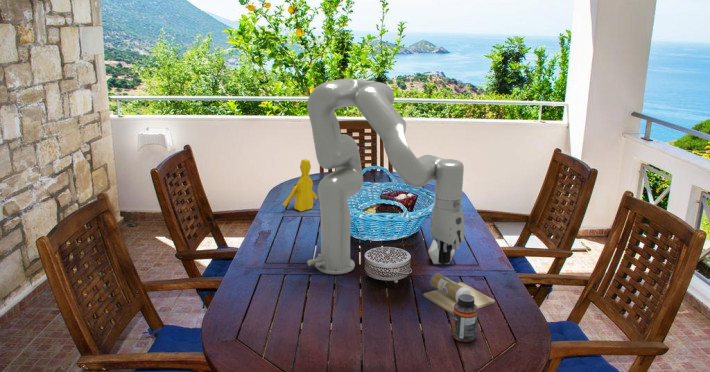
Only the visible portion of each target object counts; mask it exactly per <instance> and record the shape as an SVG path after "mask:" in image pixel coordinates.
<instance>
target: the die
mask: <svg viewBox="0 0 710 372" xmlns="http://www.w3.org/2000/svg"><path fill="white" fill-rule="evenodd" d="M427 253H428V255H429V257H430V259H431V261H432V263H433V265H442V264H441V263H439V262H438V259H439V249H438V246H437V242H436V241H435V240H434V239H433V240H432V242H431V244H430V246H429V248H428V251H427ZM455 253H456V251H455V249H453V250H452V251H451V257H450V262H449V263H446V264H445V265H450V264H451V261H452V259H453V257H454V255H455Z"/></svg>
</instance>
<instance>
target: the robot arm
mask: <svg viewBox="0 0 710 372" xmlns="http://www.w3.org/2000/svg"><path fill="white" fill-rule="evenodd" d="M394 101H395V94H394V91H393V89H392V88H391V86H389V85H388V84H386V83H384V82H379V81H371V80H364V79H356V78H340V79H335V80H330V81H326V82H323V83H320V84H319V85H318V86H316V87H315V88H314V89H313V90H311V93H310V95H309V97H308V99H307V112H308V117H309V121H310V125H311V131H312V139H313V143H314V149H315V154H316V160H317V163H318V165H319V166H320V167H321V168H322V169H324V170H332V169H335V171H332V172H331V173H329V174H326V175H325V176H324V177H322V179H321V180H320V182H319V183H318V186H317V198H318V201H319V209H320V253H318V254H317V257H315V258H312V259H307V261H306V262H307V263H306V264H307V265H308V267H311V266H314V267H315V268H316V269H317V270H318V271H319V272H321V273H324V274H329V275H344V274H348V273H349V272H352V271H353V270H355V267H356V264H355V261H354V260H353V259H351V223H352V222H351V220H352V219H351V209H350V206H349V202H348V200H349V198H351V197H354V196H356V194H358V193H359V192H360V191H361V189H362V188H363V186H364V185H363V184H364V176H363V169H362V161H361V155H360V151H359V150H360V149H359V147H358V144H357V142H356V141H355V139H354V138H353V137H352V136H350V135H348V134H346V133H345V134H344V133H343V134H342V133H341V128H340V121H339V120H338V118H337V116H336V114H335V111H336V110H338V109H343V108H347V107H356V108H357V110H358V111H359V112H360V114H361V115H362V117H364V119H365V120H366V121H367V123H369V125H370V126H371V128H372V129H373V130H374V131H375V133H376V134H377V136H379V138H380V139H381V140H382V143H383V147H384V150H385V151H384V152H385V154H386V157H387V159H388V161H389V164H390V165H391V166H392V168H393V169H394V170H395V172H396V173H397V174H398V176H399V177H400V178H401V180H403V182H405V183H406V184H407V185H408V186H410V187H411V188H422V187H424V186H425V185H427V184H428V183H430V182H431V183H432V182H434V181H435V189H434V192H435V193H434V204H433V207H432V211H431V218H430V226H429V227H430V231H429V232H430V235H431V238H432V239H433V240H435V241H436V242H437V246H438V249H439V259H438V262H439V263H441V264H440V265H447V264H446V263H449V262H450V263H451V261H450V257H451V251H452V250H453V249H454V251H455V250H459V249H460V247H461V246H460V243H463V242H464V241H465V217H464V211H463V209H462V207H463V204H462V199H463V198H462V197H463V184H464V169H465V167H464V163H463V162H462V161H461V160H457V159H449V158H442V157H439V156H435V155H431V154H425V155H421V156H420V157H417V156H416V155H415V154H414V153H413V151H412V150H411V148H410V147H409V145H408V142H407V138H406V130H407V129H406V128H407V123H406V120H405V119H404V118H403V116H402V115H401V114H400V113H399V112H398V110H397V109H396V108H395V107H394ZM450 263H449V264H450Z"/></svg>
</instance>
